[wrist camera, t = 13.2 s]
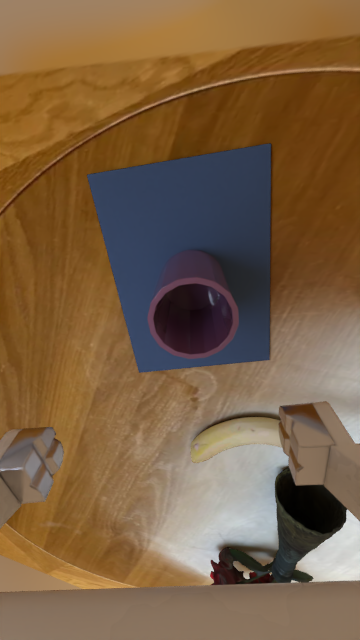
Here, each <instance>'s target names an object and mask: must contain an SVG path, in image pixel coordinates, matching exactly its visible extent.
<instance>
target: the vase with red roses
mask: <svg viewBox="0 0 360 640" xmlns="http://www.w3.org/2000/svg"><path fill="white" fill-rule="evenodd" d="M275 498H276V503H277V521H278V535H279V550H278V552H277V554H276V558H274V561H273V562H271V563H270V564H267V565H265V566H262V565H261V564H260V563H259V562H257V561H256V560H255V559H253V558H252V557H251V556H249V555H247V554H246V553H244V552H242V551H239V550H235V549H230V548H229V547H227V548H225V549H223V550H222V551H221V552H220V554H219V561H220V562H219V563H218V564H217V563H215V562H214V561H213V560H211V564H212V567H213V569H214V572H213V571H211V574H210V577H211V578H212V579H213V580H214V583H213V584H211V585H236V584H267V583H291V580H295V581H298V582H309V581H312V579H313V577H312V576H310V575H309V574H307V573H305V572H301V571H299V570H295V567H296V564H297V562H298V561H300V560H301V559H302V558H303V557H304V556H305V555H306V554H307V553H308V552H310V551H311V550H313V549H315V548H317V547H318V545H320V544H321V543H323V542H324V541H325V540H326V539H329V538H330V537H331V536H332V535H333V534H335V533H336V532H338V531H339V530H340V529H341V528H342V527H343V525H344V523H345V522H346V510H347V508H346V507H345V506H344V505H343V504H342V503H341V502H340V501H339V500H338V499H337V498H336V497H335V496H334V495H333V494H332V493H331V492H330V491H329V490H328V489H327V488H326V487H325V486H324V485H295V482H294V479H293V476H292V474H291V471H290V468H287V469H285V470H284V471H282V472H281V473H280V474H279V475H278V476H277V477H276V481H275ZM234 561H238V562H240V563H241V564H242V565H244V566H246V567H247V568H248V569H250V570H252V571H254V572H250V573H249V577H250V579H245V578H244V577H243V573H244V571H238V570H237V569H236V568H235V567H234V565H233V562H234ZM268 570H270V571H268ZM270 572H272V574H271V576H270V574H269V573H270Z"/></svg>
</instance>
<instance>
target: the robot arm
mask: <svg viewBox="0 0 360 640" xmlns="http://www.w3.org/2000/svg"><path fill="white" fill-rule="evenodd" d="M279 416H280V419H281V421H280V422H279V423H278V431H279V438H280V442H281V445H282V448H283V451H284V453H285V454H286V455H288V456H289V464H288V465H289V468H290V471H291V474H292V476H293V479H294V482H295V485H324V486H325V487H326V488H327V489H328V490H329V491H330V492H331V493H332V494H333V495H334V496H335V497H336V498H337V499H338V500H339V501H340V502H341V503H342V504H343V505H344V506H345V507H346V508H347V509H348V510H349V511H350V512H351V513H352V514H353V515H354V516H355V517H356V518H357V519H358V520H359V521H360V444H355V443H354V441H353V440H352V438H351V436H350V435H349V433H348V432H347V430H346V429H345V427H344V426H343V424H342V423H341V421H340V419H339V418H338V416H337V415H336V413H335V412H334V410H333V409H332V407H331V406H330V404H329V403H328V402H316V403H304V404H294V405H285V406H280V407H279ZM55 435H56V433H55V431H54V429H53V428H52V427H42V428H26V429H14V430H10V431H8V432H7V433H5V435H4V436H3V438H2V439H1V440H0V528H1V527H2V526H3V525H4V524H5V523H6V522H7V520H8V519H9V518H10V517H11V516H12V515H13V514H14V513H15V512H16V511H17V509H18V508H19V507H20V506H21V504H24V503H34V502H45V500H46V498H47V496H48V493H49V491H50V489H51V487H52V484H53V482H54V481H53V475H54V474H55V473H56V472H57V471H58V470H59V468H60V466H61V464H62V461H63V454H64V451H63V446H62V444H61V442H60V441H58V440H57V439H55V438H54V437H55ZM0 640H360V581H329V582H298V583H267V584H236V585H205V586H174V587H143V588H112V589H81V590H51V591H20V592H0Z"/></svg>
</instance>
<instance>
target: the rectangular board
mask: <svg viewBox="0 0 360 640" xmlns="http://www.w3.org/2000/svg"><path fill="white" fill-rule="evenodd" d="M87 177H88V181H89V184H90V188H91V192H92V196H93V200H94V203H95V207H96V211H97V215H98V218H99V222H100V226H101V230H102V234H103V237H104V241H105V245H106V249H107V253H108V256H109V260H110V264H111V268H112V271H113V275H114V279H115V283H116V287H117V290H118V294H119V298H120V302H121V306H122V309H123V313H124V317H125V321H126V324H127V328H128V332H129V336H130V340H131V343H132V347H133V351H134V355H135V358H136V362H137V366H138V370H139V373H140V372H150V371H160V370H171V369H181V368H191V367H201V366H211V365H222V364H232V363H242V362H252V361H262V360H269V354H270V214H271V143H269V144H264V145H258V146H252V147H246V148H240V149H234V150H229V151H223V152H217V153H211V154H205V155H199V156H193V157H188V158H182V159H176V160H170V161H164V162H158V163H153V164H147V165H141V166H135V167H129V168H123V169H118V170H112V171H106V172H100V173H94V174H88V175H87ZM185 250H200V251H203V252H206V253H208V254H210V255H211V256H213V257H214V258H215V259H216V260H217V261H218V262H219V264H220V266H221V268H222V270H223V272H224V274H225V276H226V279H227V281H228V284H229V286H230V289H231V291H232V294H233V296H234V299H235V301H236V304H237V306H238V315H239V325H238V328H237V330H236V332H235V335H234V337H233V339H232V340H231V341H230V342H229V343H228V344H227V345H226V346H225V347H224V348H223V349H222V350H221V351H219V352H217V353H215V354H213V355H210V356H208V357H205V358H195V359H187V358H183V357H179V356H174V355H172V354H171V353H169V352H168V351H166V350H165V349H163V348H161V347H160V346H159V344H158V343H157V342H156V340H155V339H154V338H153V336H152V335H151V333H150V328H149V324H148V319H147V317H148V313H149V308H150V304H151V300H152V297H153V294H154V291H155V288H156V285H157V282H158V279H159V276H160V273H161V270H162V268H163V267H164V265H165V263H166V262H167V261H168V260H169V259H170V258H171V257H172V256H174V255H175V254H177V253H179V252H182V251H185Z"/></svg>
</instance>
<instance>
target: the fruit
mask: <svg viewBox="0 0 360 640" xmlns="http://www.w3.org/2000/svg"><path fill="white" fill-rule="evenodd" d="M279 422H280V421H279V420H276V419H272V418H265V417H245V418H239V419H233V420H229V421H226V422H223V423H220V424H217V425H214V426H212V427H210V428H208V429H206V430H205V431H203V432H202V433H200V434H199V435H198V436H197V437H196V438H195V439H194V440H193V441H192V443H191V458H192V462H193V463H199V462H203V461H206V460H208V459H210V458H212V457H213V456H214V455H216V454H218V453H220V452H222V451H224V450H227V449H229V448H233V447H237V446H241V445H248V444H268V445H274V446H278V447H282V445H281V442H280V438H279V431H278V423H279Z"/></svg>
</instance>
